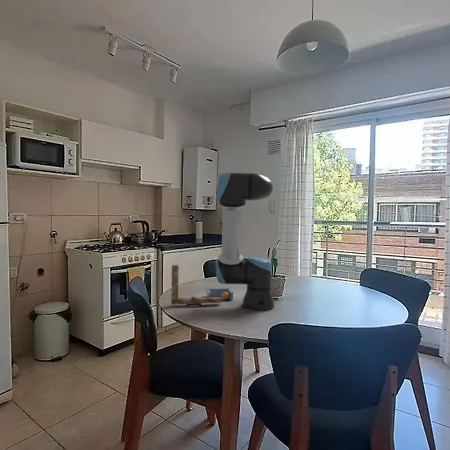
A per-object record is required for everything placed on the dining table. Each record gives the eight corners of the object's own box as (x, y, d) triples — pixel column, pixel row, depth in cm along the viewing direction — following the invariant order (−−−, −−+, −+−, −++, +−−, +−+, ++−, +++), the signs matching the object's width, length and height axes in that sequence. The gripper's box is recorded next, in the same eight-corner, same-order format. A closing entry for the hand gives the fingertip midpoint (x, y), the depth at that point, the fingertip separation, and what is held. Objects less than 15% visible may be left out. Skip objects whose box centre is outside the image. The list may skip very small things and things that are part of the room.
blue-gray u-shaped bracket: (232, 300, 173) (233, 292, 173) (208, 301, 171) (208, 293, 171) (229, 295, 183) (229, 288, 183) (206, 295, 181) (206, 288, 181)
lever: (219, 301, 167) (220, 264, 166) (221, 302, 164) (221, 265, 164) (171, 302, 163) (171, 265, 162) (171, 304, 160) (172, 266, 159)
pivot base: (203, 304, 165) (203, 302, 165) (196, 308, 159) (196, 306, 159) (190, 302, 168) (190, 301, 168) (183, 306, 162) (183, 304, 162)
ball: (231, 296, 176) (228, 289, 175) (228, 301, 173) (224, 294, 172) (225, 296, 178) (222, 290, 177) (222, 301, 175) (218, 295, 174)
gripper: (244, 211, 194) (242, 252, 192) (226, 211, 202) (223, 251, 200) (236, 209, 188) (234, 252, 186) (218, 209, 196) (215, 251, 194)
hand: (228, 251), depth 193 cm, fingers closed
